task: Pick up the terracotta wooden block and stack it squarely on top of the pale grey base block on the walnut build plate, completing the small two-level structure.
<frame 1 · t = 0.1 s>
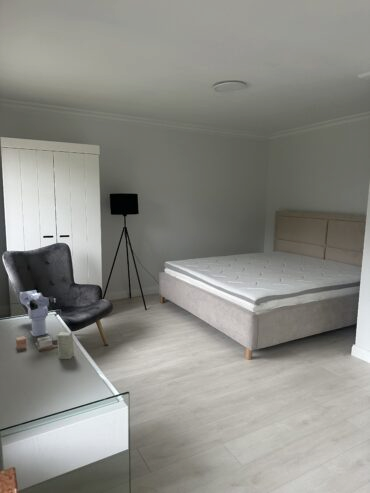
hand: (44, 305, 180), 22 cm above the table, tool horizontal, fingers open, 7 cm apart
build plate: (48, 345, 181), on the table
skincare box: (66, 357, 168), on the table
terracotta block: (21, 347, 179), on the table
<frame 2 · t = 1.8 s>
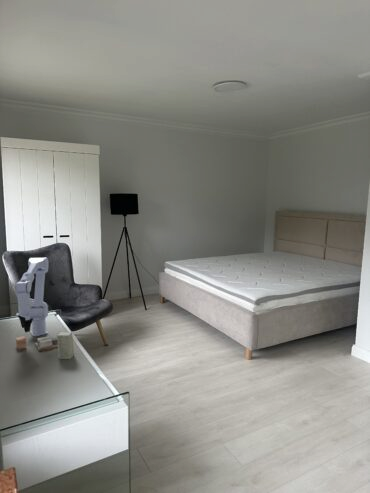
hand: (25, 329, 178), 9 cm above the table, tool pointing down, fingers open, 7 cm apart
nothing on the table moved.
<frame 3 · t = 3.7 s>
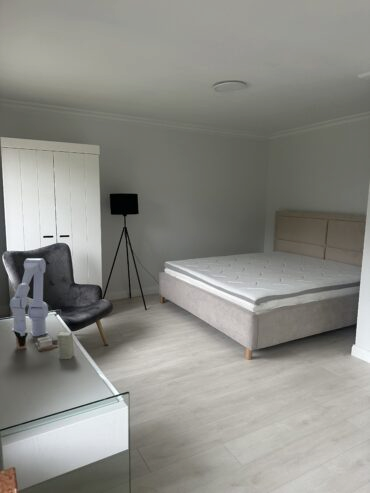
hand: (21, 344, 179), 1 cm above the table, tool pointing down, fingers closed on terracotta block, 4 cm apart
terracotta block: (21, 347, 179), on the table, touching gripper
everything else where it was.
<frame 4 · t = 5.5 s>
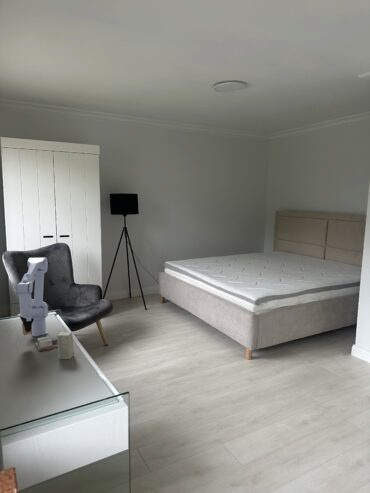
hand: (27, 330, 178), 9 cm above the table, tool pointing down, fingers closed on terracotta block, 4 cm apart
terracotta block: (27, 333, 178), point 8 cm above the table, touching gripper
everything else where it was.
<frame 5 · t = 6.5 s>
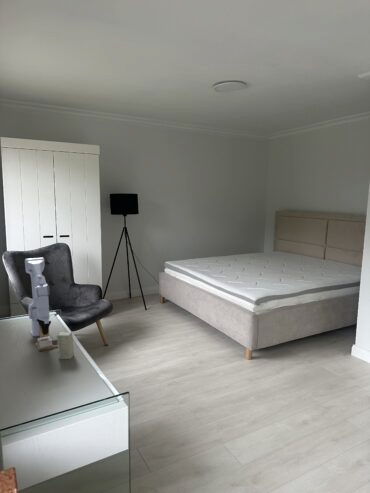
hand: (44, 332, 179), 7 cm above the table, tool pointing down, fingers closed on terracotta block, 4 cm apart
terracotta block: (44, 335, 179), point 6 cm above the table, touching gripper
everything else where it was.
when the fingers open (7 cm above the table, at t = 7.4 s): terracotta block drops 1 cm, resting on build plate.
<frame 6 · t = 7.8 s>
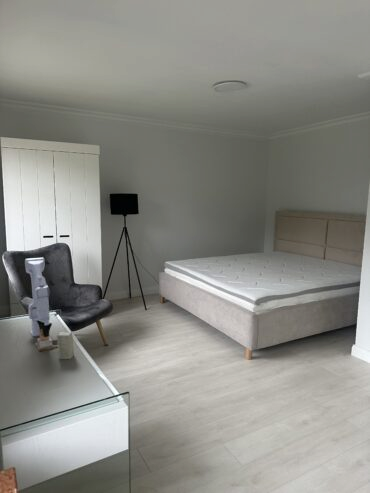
hand: (44, 334, 179), 7 cm above the table, tool pointing down, fingers open, 7 cm apart
terracotta block: (44, 339, 180), point 4 cm above the table, touching build plate
everything else where it was.
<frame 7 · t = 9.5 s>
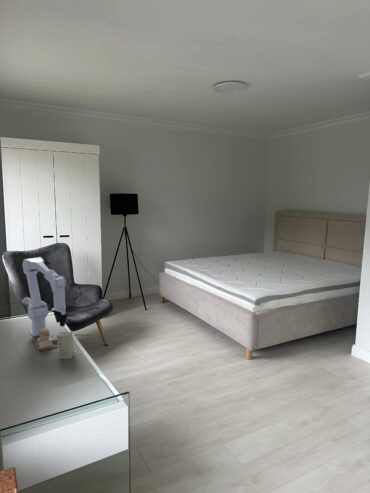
hand: (60, 324, 184), 10 cm above the table, tool pointing down, fingers open, 7 cm apart
nothing on the table moved.
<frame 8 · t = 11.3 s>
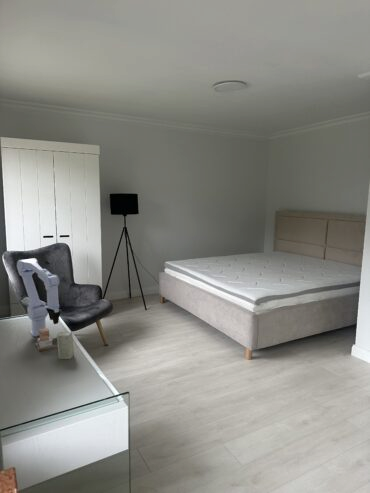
hand: (54, 321, 187), 10 cm above the table, tool pointing down, fingers open, 7 cm apart
nothing on the table moved.
at the end: terracotta block 0.1 cm from the target spot, point 4.0 cm above the table; terracotta block tilted 0°; the gripper is holding nothing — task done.
